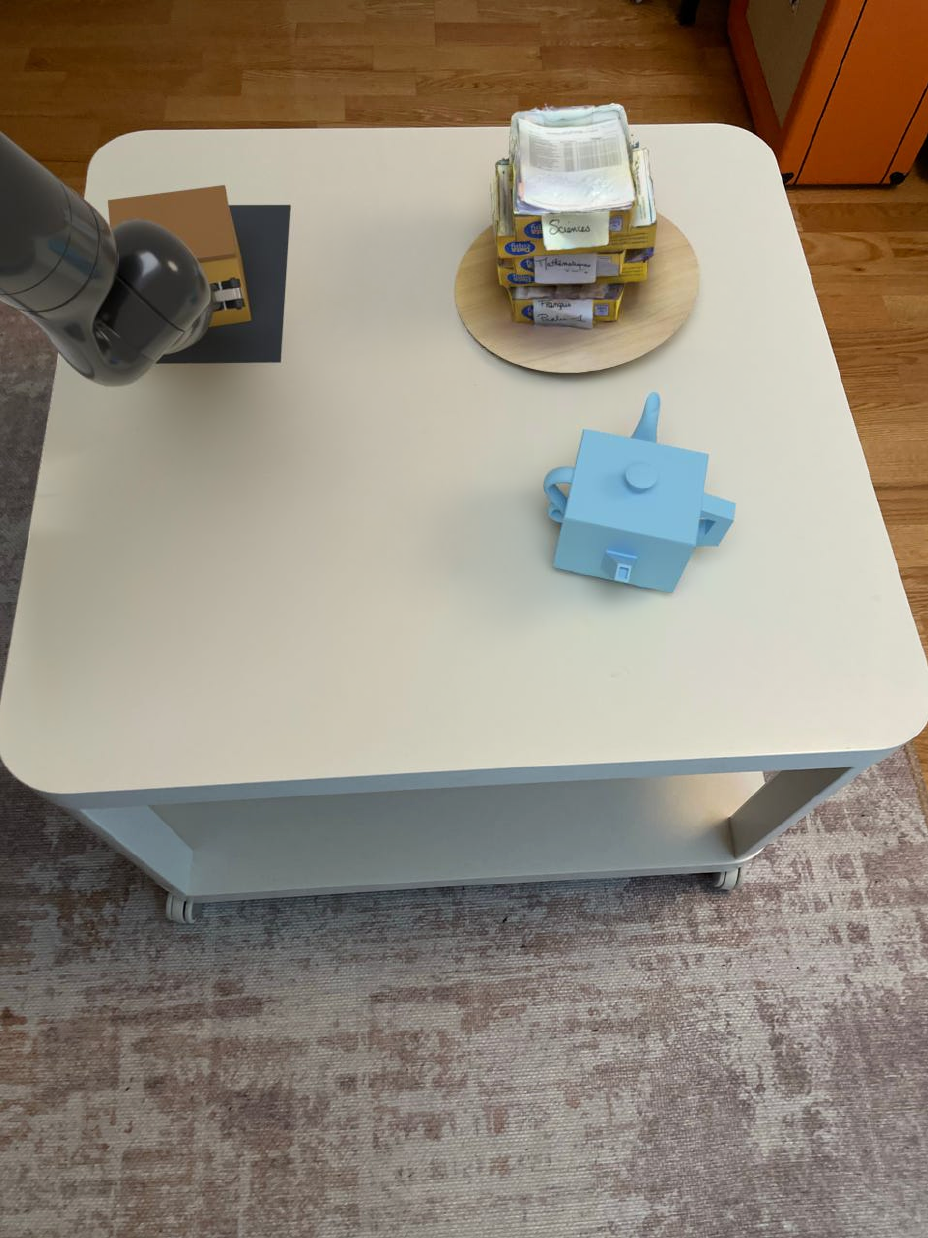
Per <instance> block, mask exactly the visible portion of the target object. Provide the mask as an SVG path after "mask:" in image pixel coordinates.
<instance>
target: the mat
mask: <svg viewBox="0 0 928 1238" xmlns="http://www.w3.org/2000/svg"><path fill="white" fill-rule="evenodd" d="M291 207H292V206H291V204H229V208H230V213H231V217H232V221H233V225H234V229H235V233H236V237H237V241H238V246H239V250H240V254H241V258H242V264H243V270H244V277H245V283H246V289H247V295H248V301H249V307H250V314H251V321H248V322H241V323H234V324H227V325H220V326H214V327H208V329H207V331H206V333H205V334H204V335H203V336H202V338H201V339H200V340H198V341H197V342H196V343H194V344H193V345H191V346H189V347H187V348H185V349H182V350H180V351H178V352H174V353H170V354H163V355H162V356H161V358H160V359H159V360H158V361H157V362H156V363H155V364H154V365H160V364H161V365H162V364H163V365H165V364H166V365H167V364H169V365H171V364H174V365H175V364H179V365H180V364H262V363H263V364H266V363H269V364H270V363H271V364H275V363H276V364H277V363H279V364H280V363H282V350H283V349H282V348H283V336H284V335H283V334H284V333H283V332H284V316H285V304H286V303H285V302H286V285H287V271H288V256H289V255H288V254H289V241H290V240H289V239H290V225H291V223H290V222H291Z"/></svg>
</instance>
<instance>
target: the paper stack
mask: <svg viewBox="0 0 928 1238" xmlns="http://www.w3.org/2000/svg"><path fill="white" fill-rule="evenodd" d="M627 112H628V113H630V112H631V111H630V108H628V111H627ZM627 112H626V110H625V107H624V106H623V105H621V104H620V103H614V102H612V103H610V104H602V105H599V106H595V105H594V104H593V105H588V104H585V105H578V106H575V105H572V106H560V107H558V106H557V107H555V105H550V106H548V104H547V103H546V102H545V103H544V106H543V107H541V109H539V108H538V107H537V106H535V107H534V108H532V109H530V110H529V109H528V110H524V111H523V110H522V111H521V110H520V111H518V110H517V111H516V112H515V113H513V114H512V115H511V118H510V130H509V137H508V138H509V142H508V143H509V145H508V158H504V157H502V158H501V159H499V160H497V161H496V162H495V163H494V169H495V173H494V174H495V177H494V178H493V179H492V180H491V181H490V185H489V186H490V188H489V190H490V191H489V192H490V203H491V216H492V224H491V225H490V226H488V227H487V228H486V229H485V230H483V231H482V232H481V233H480V234H479V235H478V236H477V238H475V239H474V240H473V242H472V243H471V245H470V246H469V247H468V248H467V250H466V251H465V254H464V255H463V257H462V259H461V261H460V263H459V265H458V269H457V272H456V276H455V281H454V297H455V304H456V308H457V311H458V314H459V316H460V318H461V320H462V323H463V324H464V326H465V327H466V329H467V330H468V332H469V333H470V334H471V335H472V336H473V337H474V338H475V340H476V341H478V343H480V344H481V345H482V346H483V347H484V348H486V349H487V350H488V351H489V352H491V353H493V354H494V355H496V356H498V357H499V358H502V359H504V360H505V361H508V362H510V363H512V364H515V365H518V366H521V367H524V368H528V369H532V370H536V371H541V372H548V373H560V374H561V373H563V374H564V373H565V374H568V373H569V374H570V373H571V374H574V373H575V374H576V373H577V374H578V373H579V374H580V373H587V372H594V371H600V370H605V369H609V368H614V367H616V366H620V365H623V364H625V363H629V362H631V361H634V360H636V359H637V358H640V357H643V356H644V355H646V354H647V353H649V352H651V351H653V350H654V349H655V348H657V347H659V346H660V345H662V344H663V343H664V342H666V340H668V339H669V338H671V336H672V335H674V333H675V332H677V330H678V329H679V328H680V327H681V326H682V325H683V323H684V322H685V320H686V319H687V318H688V316H689V315H690V313H691V311H692V309H693V307H694V305H695V302H696V300H697V296H698V293H699V288H700V279H701V278H700V277H701V275H700V265H699V261H698V258H697V255H696V252H695V249H694V248H693V246H692V244H691V243H690V241H689V240H688V238H687V236H686V235H685V234H684V232H683V231H682V230H681V229H680V228H678V226H677V225H675V224H674V223H673V221H671V220H669V219H668V218H667V217H665V216H664V215H662V214H661V213H659V212H658V211H657V208H656V199H655V189H654V180H653V178H652V173H651V165H650V155H649V154H650V153H649V152H650V151H649V149H648V148H647V147H644V148H642V147H640V142H639V141H640V140H637V142H636V143H635V140H633V141H632V140H631V139H632V138H631V137H633V136H634V135H633V133H631V131H630V126H629V122H628V116H627ZM632 143H633V144H632Z"/></svg>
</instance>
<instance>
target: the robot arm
mask: <svg viewBox="0 0 928 1238" xmlns="http://www.w3.org/2000/svg"><path fill="white" fill-rule="evenodd" d="M243 298H244V296H243V292H242V287H241V283H240V278H238V279H235V277H233V278H230V280H226V281H220V282H216V283H211V284H209V282H208V279H207V276H206V274H205V272H204V270H203V268H202V266H201V264H200V263H199V261H198V259H197V258H196V257H195V255H194V254H193V253H192V251H191V250H190V249H189V248H188V247H187V246H186V245H185V244H184V243H183V242H182V241H181V240H180V239H179V238H178V237H177V236H176V235H174V234H173V233H172V232H170V231H169V230H167V229H166V228H164V227H162V226H160V225H159V224H157V223H154V222H151V221H149V220H145V219H129V220H126V221H123V222H121V223H120V224H118V225H116V226H115V227H114V228H112V229H111V227H110V223H109V222H108V221H107V219H105V217H104V216H103V215H102V213H100V211H98V209H96V208H95V206H94V205H92V204H91V203H90V202H89V201H87V200H86V198H83V196H81V195H80V194H79V193H78V192H77V191H75V190H74V188H73V189H72V187H71V186H69V185H68V184H67V183H66V182H65V181H63V180H62V179H61V178H59V177H58V176H57V175H55V174H54V173H53V172H52V171H51V170H50V169H48V168H47V167H46V166H45V165H43V164H42V163H40V162H39V161H38V160H37V159H36V158H34V157H33V156H32V155H31V154H29V153H28V152H27V151H25V149H23V148H22V147H21V146H19V145H18V144H17V143H16V142H14V141H13V140H12V139H11V138H9V137H8V136H7V135H6V134H5V133H3V132H2V131H1V130H0V301H1V302H2V303H5V304H6V305H9V306H11V307H12V308H14V309H16V310H18V311H19V312H20V313H22V314H23V315H25V317H27V318H29V319H30V321H32V322H33V323H34V324H35V325H36V326H37V327H38V328H39V329H40V330H41V331H42V333H43V335H44V336H45V337H46V338H47V340H48V341H49V342H50V343H51V345H52V346H53V347H54V349H55V350H56V352H57V353H58V354H59V355H60V356H61V357H62V358H63V359H64V361H65V362H66V363H67V364H68V365H69V366H70V367H71V368H72V369H73V370H75V372H77V373H78V374H79V375H81V376H82V377H83V378H85V379H86V380H88V381H90V382H92V383H93V384H96V385H99V386H101V387H107V388H118V387H119V388H120V387H125V386H129V385H132V384H134V383H136V382H137V381H139V380H140V379H141V378H142V377H144V376H145V375H146V374H147V373H148V372H149V371H150V370H151V369H152V367H154V366H155V365H156V364H155V363H156V362H157V361H158V360H159V359H160V358H161V356H162V355H163V354H170V353H174V352H178V351H180V350H182V349H185V348H187V347H189V346H191V345H193V344H194V343H196V342H197V341H198V340H200V339H201V338H202V336H203V335H204V334H205V333H206V331H207V329H208V327H209V325H210V323H211V319H212V315H213V312H216V311H222V310H228V309H235V308H236V309H237V310H239V309H242V307H246V305H245V301H244V299H243Z"/></svg>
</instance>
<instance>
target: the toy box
mask: <svg viewBox="0 0 928 1238" xmlns="http://www.w3.org/2000/svg"><path fill="white" fill-rule="evenodd" d="M229 205H230V204H229V200H228V193H227V188H226V185H225V184H221V185H214V186H213V185H212V186H207V187H206V186H205V187H198V188H191V189H183V190H176V191H169V192H160V193H159V192H158V193H152V194H143V195H138V196H137V195H136V196H129V197H121V198H113V199H108V200H107V208H108V209H107V210H108V219H109V225H110V227H111V229H112V228H114V227H115V226H116V225H118V224H120V223H121V222H123V221H126V220H129V219H145V220H149V221H151V222H154V223H157V224H159V225H160V226H162V227H164V228H166V229H167V230H169V231H170V232H172V233H173V234H174V235H176V236H177V237H178V238H179V239H180V240H181V241H182V242H183V243H184V244H185V245H186V246H187V247H188V248H189V249H190V250H191V251H192V253H193V254H194V255H195V257H196V258H197V259H198V261H199V263H200V264H201V266H202V268H203V270H204V272H205V274H206V276H207V279H208V282H209V284H211V283H216V282H220V281H226V280H230V278H233V277H235V279H238V278H240V283H241V287H242V292H243V296H244V298H243V299H244V301H245V305H246V307H242V309H239V310H237V309H236V308H235V309H228V310H222V311H216V312H213V315H212V319H211V323H210V325H209V327H214V326H220V325H227V324H234V323H241V322H248V321H251V314H250V307H249V301H248V295H247V289H246V283H245V277H244V270H243V264H242V258H241V254H240V250H239V246H238V241H237V237H236V233H235V229H234V225H233V221H232V217H231V213H230V208H229Z"/></svg>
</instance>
